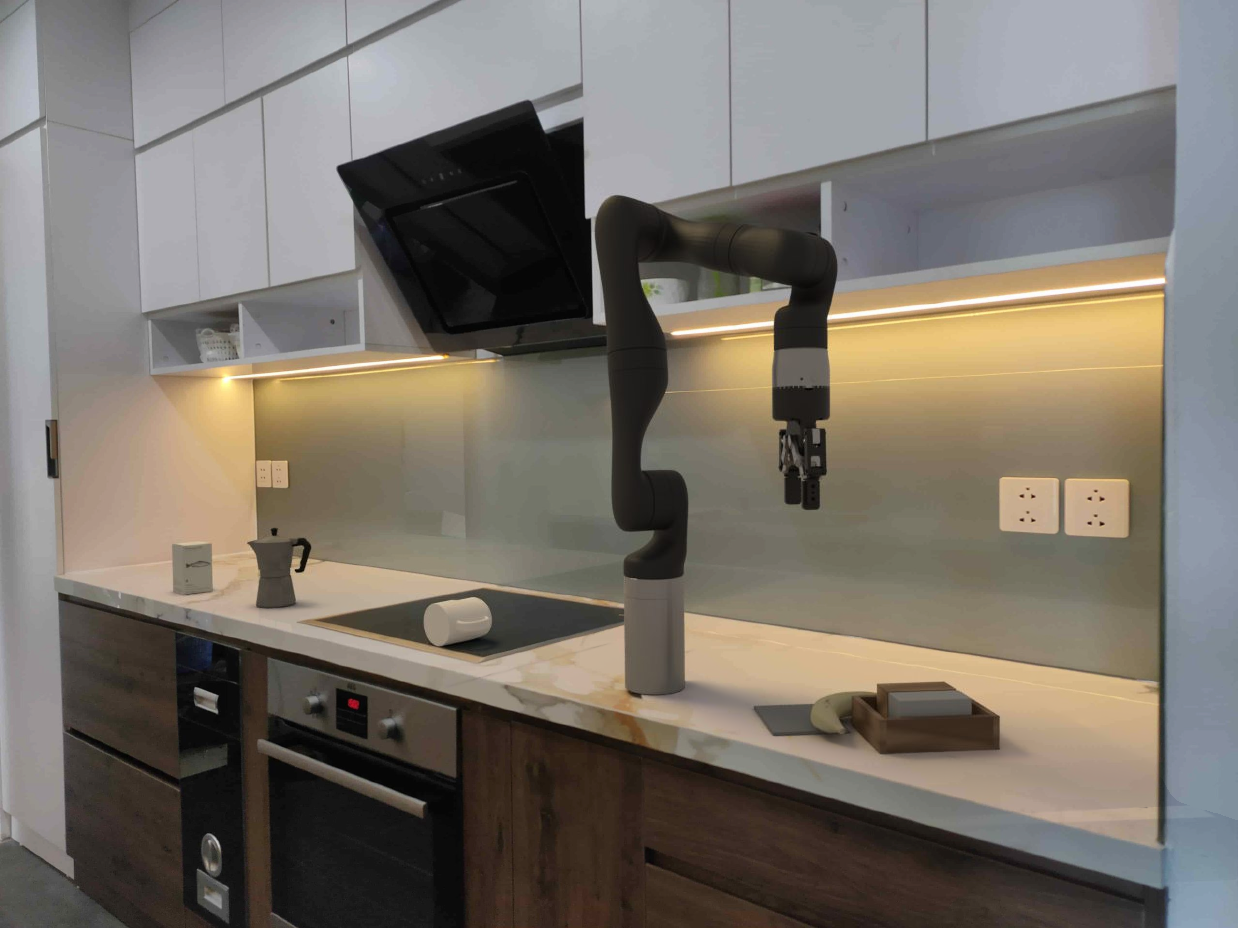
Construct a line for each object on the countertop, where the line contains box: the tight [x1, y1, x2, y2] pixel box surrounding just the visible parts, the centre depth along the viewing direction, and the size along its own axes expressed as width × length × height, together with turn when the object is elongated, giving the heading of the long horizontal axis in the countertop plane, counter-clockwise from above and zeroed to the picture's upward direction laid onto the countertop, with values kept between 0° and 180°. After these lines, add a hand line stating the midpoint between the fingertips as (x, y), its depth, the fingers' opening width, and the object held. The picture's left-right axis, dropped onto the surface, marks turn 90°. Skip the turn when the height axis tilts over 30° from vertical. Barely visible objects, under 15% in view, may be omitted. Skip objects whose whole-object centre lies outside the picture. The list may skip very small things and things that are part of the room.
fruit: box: [811, 690, 877, 735], centre depth 114 cm, size 7×15×3 cm, turn 135°
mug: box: [423, 596, 493, 647], centre depth 163 cm, size 12×9×8 cm
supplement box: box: [171, 540, 214, 596], centre depth 222 cm, size 7×7×13 cm
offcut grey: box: [888, 689, 973, 718], centre depth 107 cm, size 4×9×6 cm, turn 94°
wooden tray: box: [851, 692, 1001, 755], centre depth 109 cm, size 10×15×4 cm
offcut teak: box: [876, 681, 958, 718], centre depth 111 cm, size 4×9×6 cm, turn 94°
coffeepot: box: [246, 527, 312, 609], centre depth 204 cm, size 15×9×18 cm, turn 85°
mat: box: [753, 703, 851, 737], centre depth 116 cm, size 11×10×1 cm
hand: (801, 506), depth 116 cm, fingers open, 8 cm apart
